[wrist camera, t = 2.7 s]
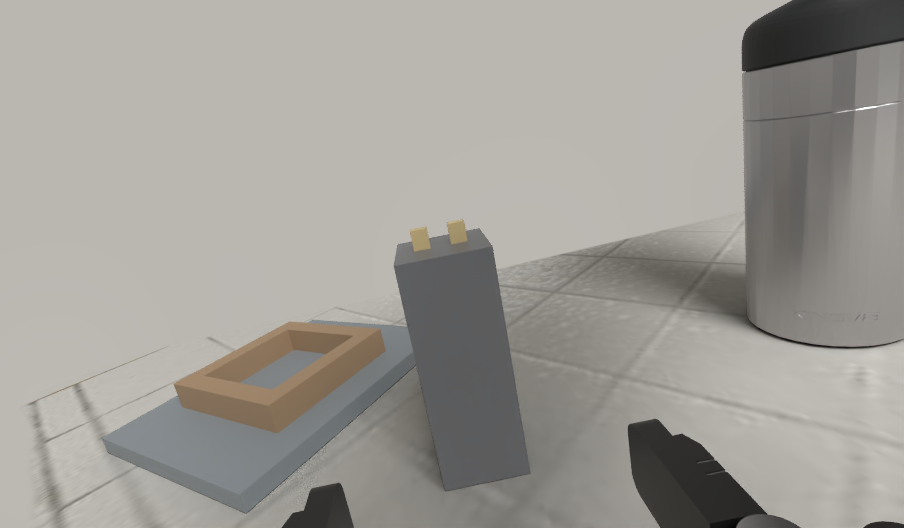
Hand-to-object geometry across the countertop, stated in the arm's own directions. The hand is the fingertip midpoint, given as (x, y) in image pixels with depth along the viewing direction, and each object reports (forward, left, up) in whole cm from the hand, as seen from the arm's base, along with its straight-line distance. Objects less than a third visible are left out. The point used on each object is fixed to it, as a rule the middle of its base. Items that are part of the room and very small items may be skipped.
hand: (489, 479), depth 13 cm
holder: (-11, -24, -8) cm, 28 cm away
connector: (-9, -6, -8) cm, 14 cm away
